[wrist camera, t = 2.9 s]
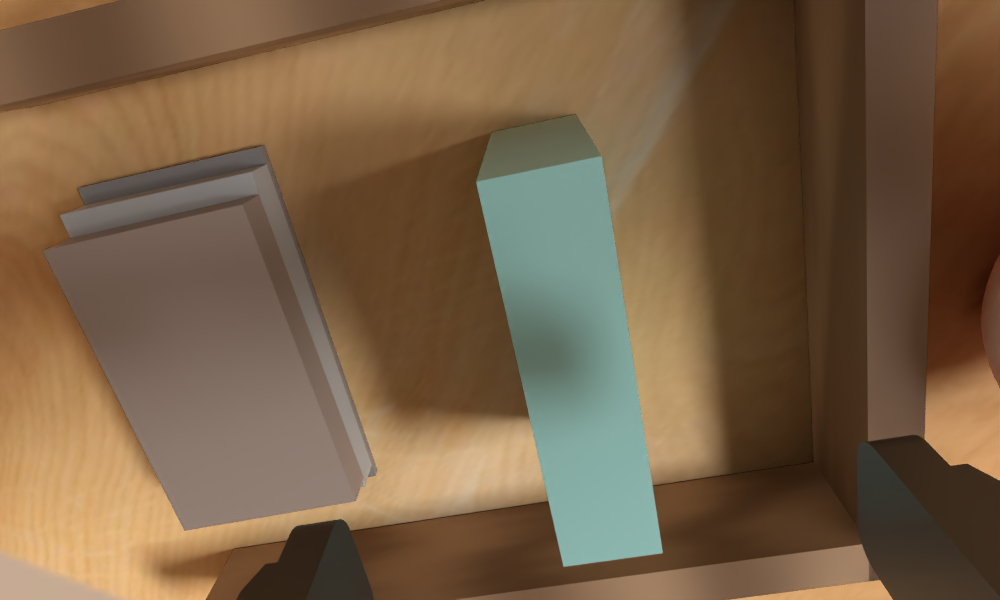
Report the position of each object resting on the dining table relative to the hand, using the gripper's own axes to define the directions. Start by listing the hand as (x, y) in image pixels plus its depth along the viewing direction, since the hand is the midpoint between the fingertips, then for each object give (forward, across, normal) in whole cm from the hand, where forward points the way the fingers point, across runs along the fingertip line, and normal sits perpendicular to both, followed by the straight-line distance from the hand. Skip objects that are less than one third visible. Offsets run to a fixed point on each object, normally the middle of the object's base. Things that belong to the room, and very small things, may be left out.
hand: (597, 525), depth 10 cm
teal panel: (+12, 0, 0) cm, 12 cm away
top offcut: (+10, +11, 0) cm, 15 cm away
